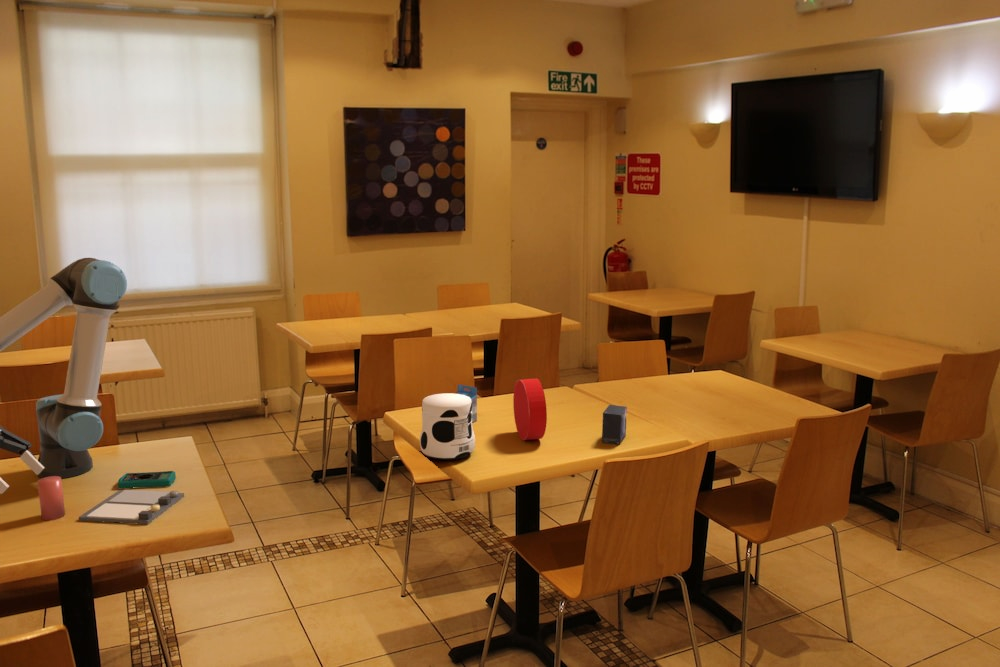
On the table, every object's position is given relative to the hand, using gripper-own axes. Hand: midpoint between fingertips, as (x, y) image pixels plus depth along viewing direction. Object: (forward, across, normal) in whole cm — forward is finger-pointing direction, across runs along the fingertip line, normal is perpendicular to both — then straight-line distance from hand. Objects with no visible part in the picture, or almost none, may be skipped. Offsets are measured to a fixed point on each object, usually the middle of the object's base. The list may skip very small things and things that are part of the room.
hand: (23, 480), depth 225 cm
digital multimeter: (+20, -27, +6) cm, 34 cm away
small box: (+112, -86, +101) cm, 173 cm away
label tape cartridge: (+75, -100, +63) cm, 139 cm away
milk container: (+76, -63, +64) cm, 117 cm away
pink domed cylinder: (+12, -2, -2) cm, 12 cm away
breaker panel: (+24, -9, +10) cm, 28 cm away
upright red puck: (+92, -83, +81) cm, 148 cm away
